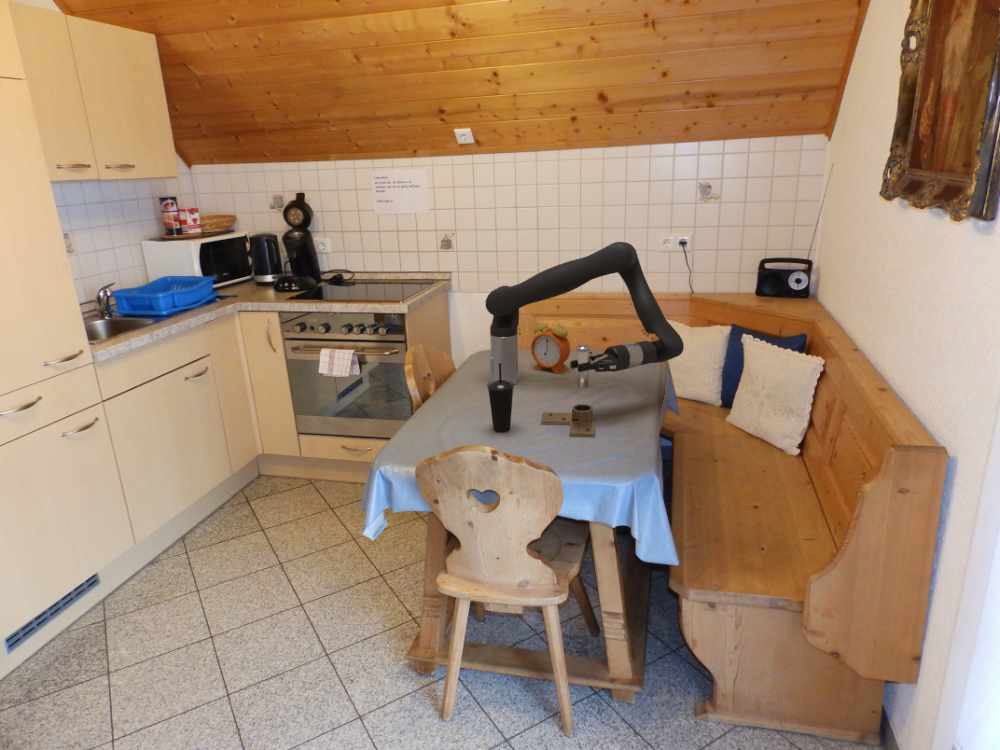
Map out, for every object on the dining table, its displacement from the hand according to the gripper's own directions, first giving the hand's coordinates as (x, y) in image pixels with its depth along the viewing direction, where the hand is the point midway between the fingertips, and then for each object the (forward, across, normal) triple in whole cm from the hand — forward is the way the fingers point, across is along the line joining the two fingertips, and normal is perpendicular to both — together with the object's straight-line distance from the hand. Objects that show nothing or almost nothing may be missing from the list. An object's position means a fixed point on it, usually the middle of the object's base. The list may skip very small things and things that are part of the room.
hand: (574, 366), depth 193 cm
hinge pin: (-3, 0, +6) cm, 7 cm away
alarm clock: (-20, -46, +18) cm, 53 cm away
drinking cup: (+21, -6, +17) cm, 28 cm away
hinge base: (+3, +1, +17) cm, 18 cm away
